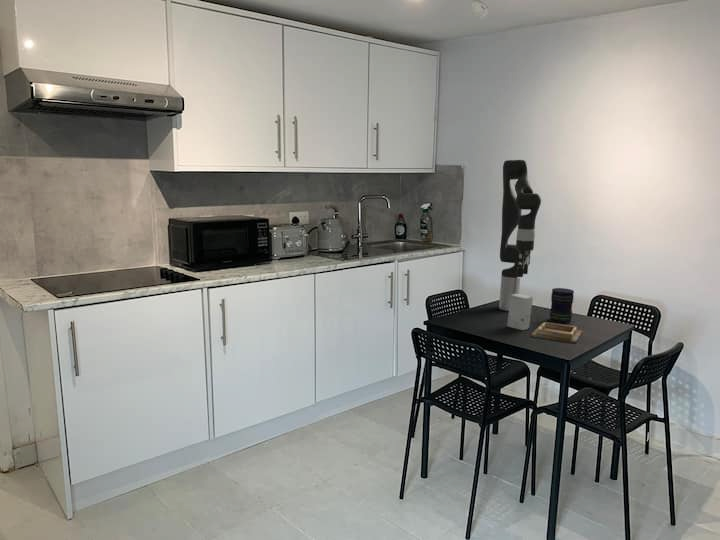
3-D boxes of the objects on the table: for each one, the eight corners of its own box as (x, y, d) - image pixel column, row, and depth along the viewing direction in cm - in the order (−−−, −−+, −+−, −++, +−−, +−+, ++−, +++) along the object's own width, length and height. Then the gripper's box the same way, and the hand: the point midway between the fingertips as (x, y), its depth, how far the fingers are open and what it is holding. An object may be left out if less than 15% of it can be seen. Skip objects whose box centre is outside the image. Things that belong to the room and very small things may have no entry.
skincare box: (506, 326, 251) (509, 294, 249) (514, 324, 255) (516, 292, 253) (523, 330, 245) (526, 298, 243) (530, 328, 249) (533, 296, 247)
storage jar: (562, 317, 269) (564, 287, 267) (575, 323, 260) (578, 291, 258) (544, 319, 266) (547, 288, 264) (558, 324, 257) (560, 292, 255)
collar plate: (540, 326, 252) (540, 320, 252) (582, 333, 244) (582, 326, 243) (531, 336, 237) (531, 329, 236) (575, 343, 228) (576, 336, 228)
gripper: (520, 237, 251) (517, 272, 254) (512, 239, 239) (509, 276, 242) (537, 238, 248) (534, 274, 250) (530, 241, 235) (527, 278, 238)
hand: (522, 275), depth 246 cm, fingers open, 8 cm apart
